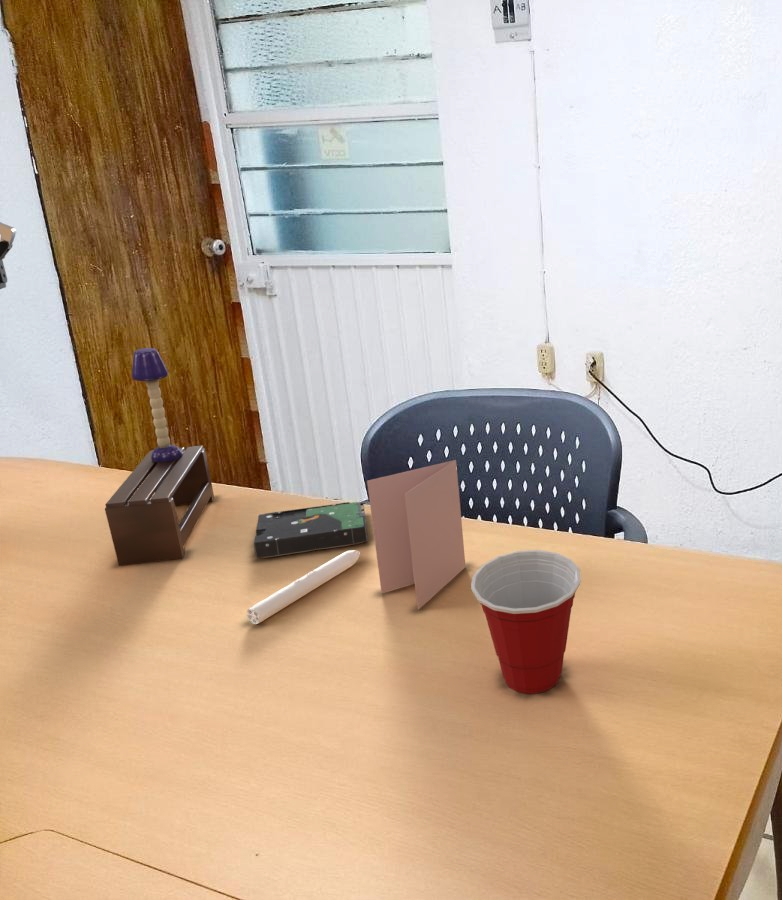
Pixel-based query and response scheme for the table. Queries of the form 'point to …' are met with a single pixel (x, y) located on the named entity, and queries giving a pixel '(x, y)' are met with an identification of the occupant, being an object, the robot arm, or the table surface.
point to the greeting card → (418, 529)
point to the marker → (301, 587)
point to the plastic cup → (528, 614)
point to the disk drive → (310, 529)
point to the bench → (159, 507)
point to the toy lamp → (155, 400)
